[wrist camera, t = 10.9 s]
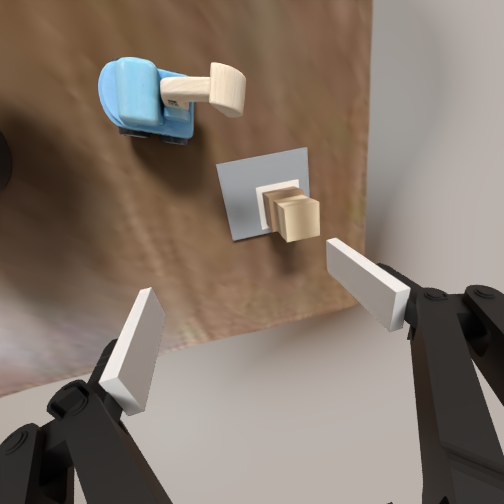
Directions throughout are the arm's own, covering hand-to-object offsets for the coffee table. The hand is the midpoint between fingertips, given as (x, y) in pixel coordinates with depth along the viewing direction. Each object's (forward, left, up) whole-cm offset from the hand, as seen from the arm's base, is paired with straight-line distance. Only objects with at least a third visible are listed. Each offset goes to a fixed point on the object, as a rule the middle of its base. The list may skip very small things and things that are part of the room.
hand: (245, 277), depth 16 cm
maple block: (+10, -2, -20) cm, 23 cm away
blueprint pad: (+8, 0, -26) cm, 27 cm away
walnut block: (+10, -2, -25) cm, 27 cm away
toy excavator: (-4, +15, -27) cm, 31 cm away
